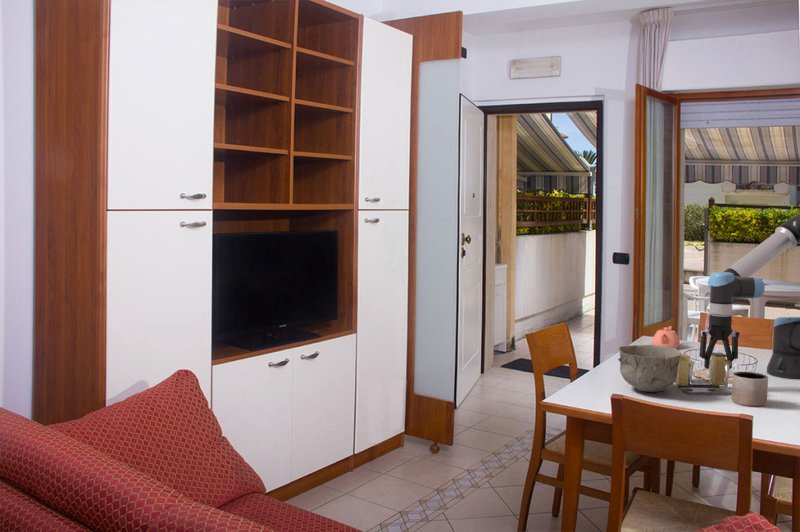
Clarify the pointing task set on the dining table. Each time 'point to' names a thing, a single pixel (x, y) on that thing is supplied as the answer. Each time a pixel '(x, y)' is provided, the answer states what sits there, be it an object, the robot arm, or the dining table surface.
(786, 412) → the dining table surface
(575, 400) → the dining table surface
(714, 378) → the sliding leg
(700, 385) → the rail
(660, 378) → the bowl
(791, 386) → the dining table surface
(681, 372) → the fixed leg
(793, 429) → the dining table surface
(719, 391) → the hole plate
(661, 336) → the teapot
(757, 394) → the planter
